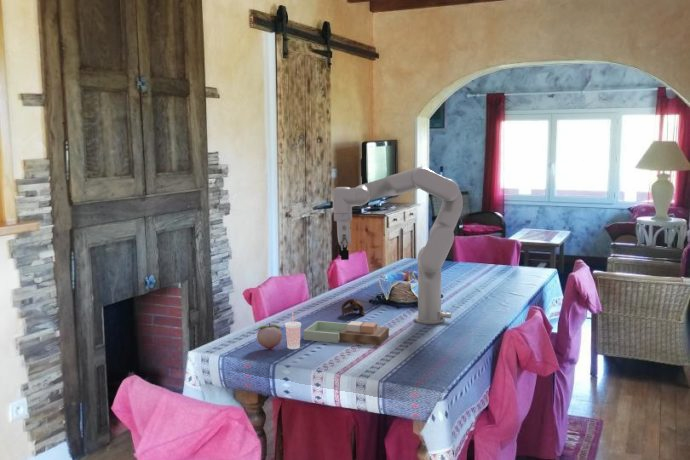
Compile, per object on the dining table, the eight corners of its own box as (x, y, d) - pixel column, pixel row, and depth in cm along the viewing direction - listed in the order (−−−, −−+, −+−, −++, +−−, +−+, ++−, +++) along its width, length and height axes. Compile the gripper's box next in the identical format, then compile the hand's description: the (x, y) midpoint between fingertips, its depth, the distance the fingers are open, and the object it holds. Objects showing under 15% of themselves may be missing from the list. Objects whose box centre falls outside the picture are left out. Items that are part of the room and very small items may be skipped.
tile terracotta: (377, 329, 260) (377, 323, 260) (373, 333, 256) (373, 326, 255) (364, 328, 262) (364, 322, 262) (360, 332, 257) (360, 325, 257)
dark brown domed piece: (366, 319, 290) (357, 304, 288) (347, 327, 293) (337, 312, 290) (367, 305, 301) (358, 290, 299) (348, 313, 304) (339, 299, 301)
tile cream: (363, 328, 262) (363, 322, 262) (359, 331, 257) (359, 325, 257) (351, 327, 264) (351, 321, 263) (347, 330, 259) (347, 324, 259)
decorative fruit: (261, 354, 244) (260, 327, 242) (255, 348, 251) (254, 321, 250) (286, 350, 247) (285, 324, 246) (279, 344, 255) (278, 318, 253)
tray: (350, 332, 269) (350, 323, 269) (337, 342, 256) (337, 333, 255) (317, 329, 274) (317, 320, 274) (303, 339, 261) (303, 330, 260)
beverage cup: (286, 344, 255) (285, 308, 253) (302, 344, 254) (301, 308, 252) (284, 349, 248) (283, 312, 247) (301, 349, 248) (300, 312, 246)
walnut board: (388, 336, 263) (388, 327, 262) (379, 345, 252) (379, 336, 251) (349, 333, 268) (349, 324, 268) (339, 341, 257) (339, 332, 256)
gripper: (353, 219, 272) (354, 261, 275) (350, 214, 290) (351, 253, 292) (335, 219, 272) (336, 261, 274) (332, 214, 289) (333, 254, 291)
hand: (344, 257), depth 283 cm, fingers open, 9 cm apart
